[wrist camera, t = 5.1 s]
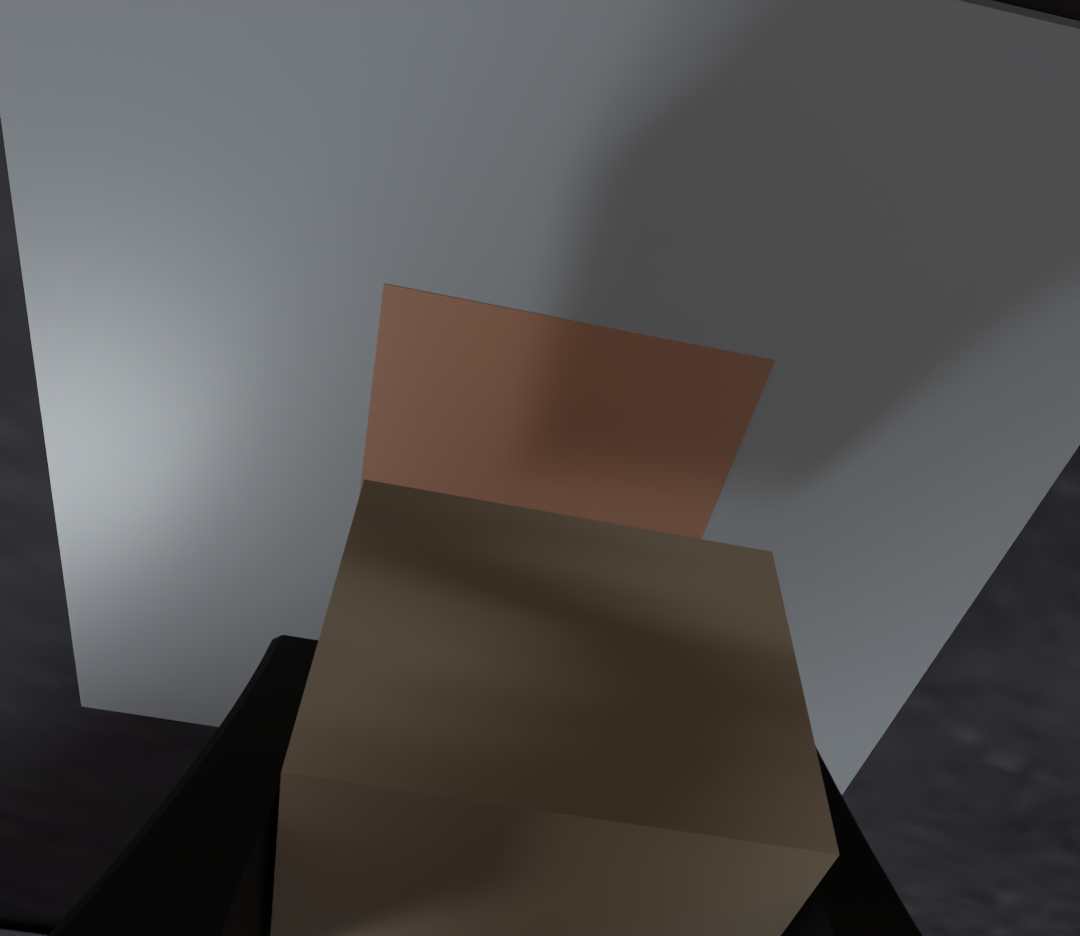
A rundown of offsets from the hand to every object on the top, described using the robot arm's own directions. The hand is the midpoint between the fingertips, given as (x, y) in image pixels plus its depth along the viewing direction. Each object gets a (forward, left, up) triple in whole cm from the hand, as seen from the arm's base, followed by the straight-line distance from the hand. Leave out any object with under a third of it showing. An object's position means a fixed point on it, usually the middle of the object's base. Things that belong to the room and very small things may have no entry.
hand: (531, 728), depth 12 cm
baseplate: (0, 0, -6) cm, 6 cm away
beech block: (0, 0, -1) cm, 1 cm away
